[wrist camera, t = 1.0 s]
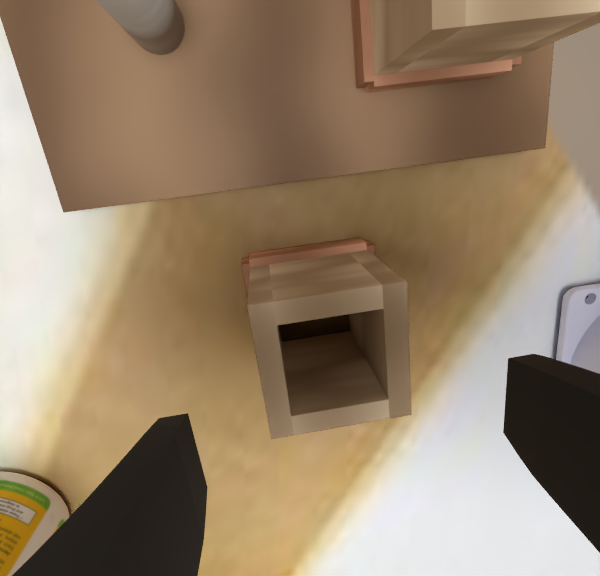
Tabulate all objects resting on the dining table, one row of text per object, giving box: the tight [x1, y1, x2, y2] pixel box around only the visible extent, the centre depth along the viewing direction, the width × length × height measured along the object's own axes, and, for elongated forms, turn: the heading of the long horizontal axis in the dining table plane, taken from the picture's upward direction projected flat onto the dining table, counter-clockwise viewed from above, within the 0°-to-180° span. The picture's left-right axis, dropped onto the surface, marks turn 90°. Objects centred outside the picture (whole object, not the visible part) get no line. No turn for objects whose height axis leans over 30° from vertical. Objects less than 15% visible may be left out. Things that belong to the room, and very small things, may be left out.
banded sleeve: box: [241, 237, 411, 439], centre depth 13 cm, size 5×5×5 cm
